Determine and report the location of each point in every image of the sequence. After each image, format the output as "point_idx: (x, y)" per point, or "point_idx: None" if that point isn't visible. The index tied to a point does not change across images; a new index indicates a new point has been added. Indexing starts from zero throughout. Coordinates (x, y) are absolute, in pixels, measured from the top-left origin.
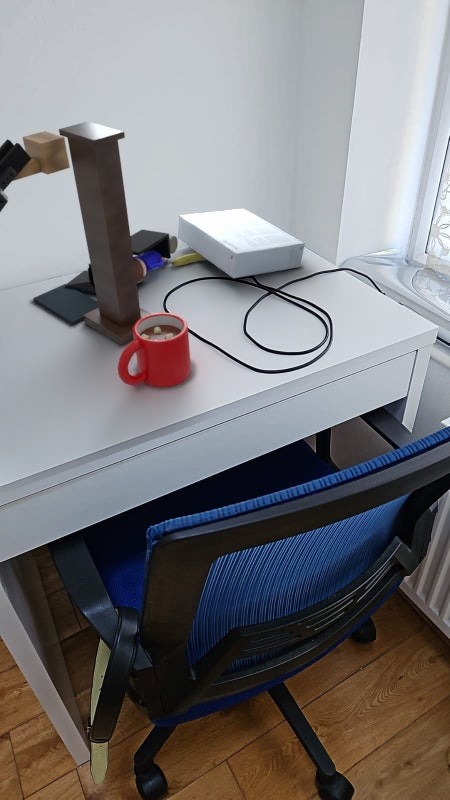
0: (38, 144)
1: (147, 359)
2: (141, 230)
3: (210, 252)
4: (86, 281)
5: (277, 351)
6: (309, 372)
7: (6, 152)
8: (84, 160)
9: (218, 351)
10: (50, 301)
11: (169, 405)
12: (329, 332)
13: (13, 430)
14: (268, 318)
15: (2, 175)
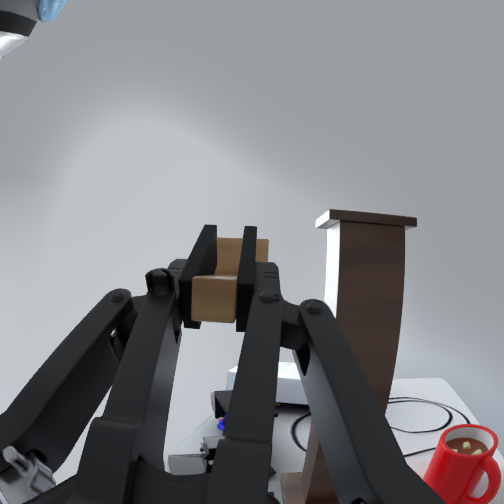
0: (258, 242)
1: (483, 471)
2: (216, 392)
3: (295, 394)
4: (200, 471)
5: (444, 424)
6: (473, 417)
7: (212, 246)
8: (377, 256)
9: (431, 451)
10: None
11: (499, 487)
12: (430, 402)
13: None
14: (396, 417)
15: (274, 280)
